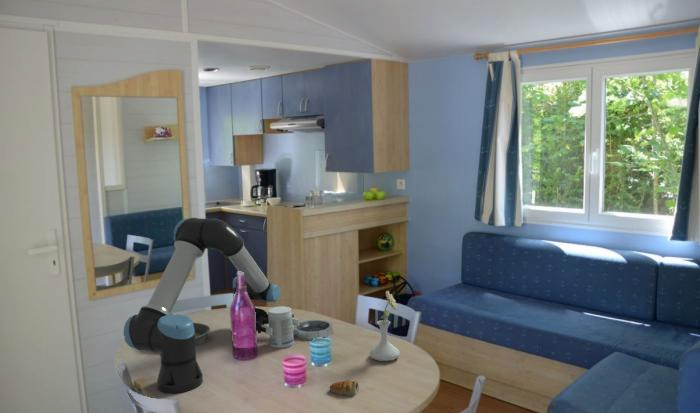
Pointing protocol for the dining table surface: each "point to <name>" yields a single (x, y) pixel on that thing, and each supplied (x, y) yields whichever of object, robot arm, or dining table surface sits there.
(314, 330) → the grey pet bowl
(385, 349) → the flower in vase
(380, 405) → the dining table surface
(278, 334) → the supplement tub
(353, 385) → the pastry
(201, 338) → the cake pan
